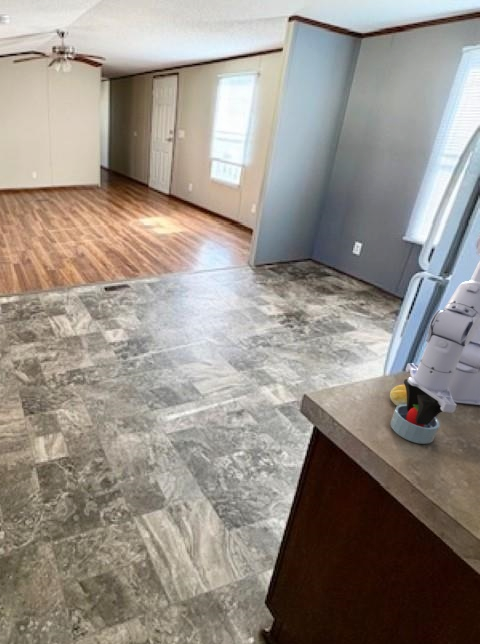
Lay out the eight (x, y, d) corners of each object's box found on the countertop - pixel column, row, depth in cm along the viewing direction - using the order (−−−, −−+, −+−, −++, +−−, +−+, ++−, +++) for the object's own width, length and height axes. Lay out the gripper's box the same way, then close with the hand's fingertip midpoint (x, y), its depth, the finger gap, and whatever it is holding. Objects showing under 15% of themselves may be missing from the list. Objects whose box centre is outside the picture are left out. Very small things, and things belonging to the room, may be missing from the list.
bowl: (420, 422, 97) (426, 406, 96) (440, 447, 90) (448, 431, 88) (383, 418, 99) (388, 402, 97) (400, 443, 91) (406, 426, 89)
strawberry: (418, 418, 94) (424, 403, 93) (427, 428, 91) (433, 413, 90) (402, 416, 95) (408, 401, 93) (410, 426, 92) (416, 411, 90)
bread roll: (431, 401, 104) (437, 388, 103) (426, 419, 98) (431, 405, 97) (393, 387, 110) (397, 374, 108) (385, 403, 104) (390, 389, 102)
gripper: (399, 345, 94) (381, 394, 100) (436, 383, 81) (414, 438, 87) (433, 348, 93) (414, 398, 99) (477, 387, 80) (452, 442, 86)
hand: (416, 417), depth 93 cm, fingers closed on strawberry, 3 cm apart
